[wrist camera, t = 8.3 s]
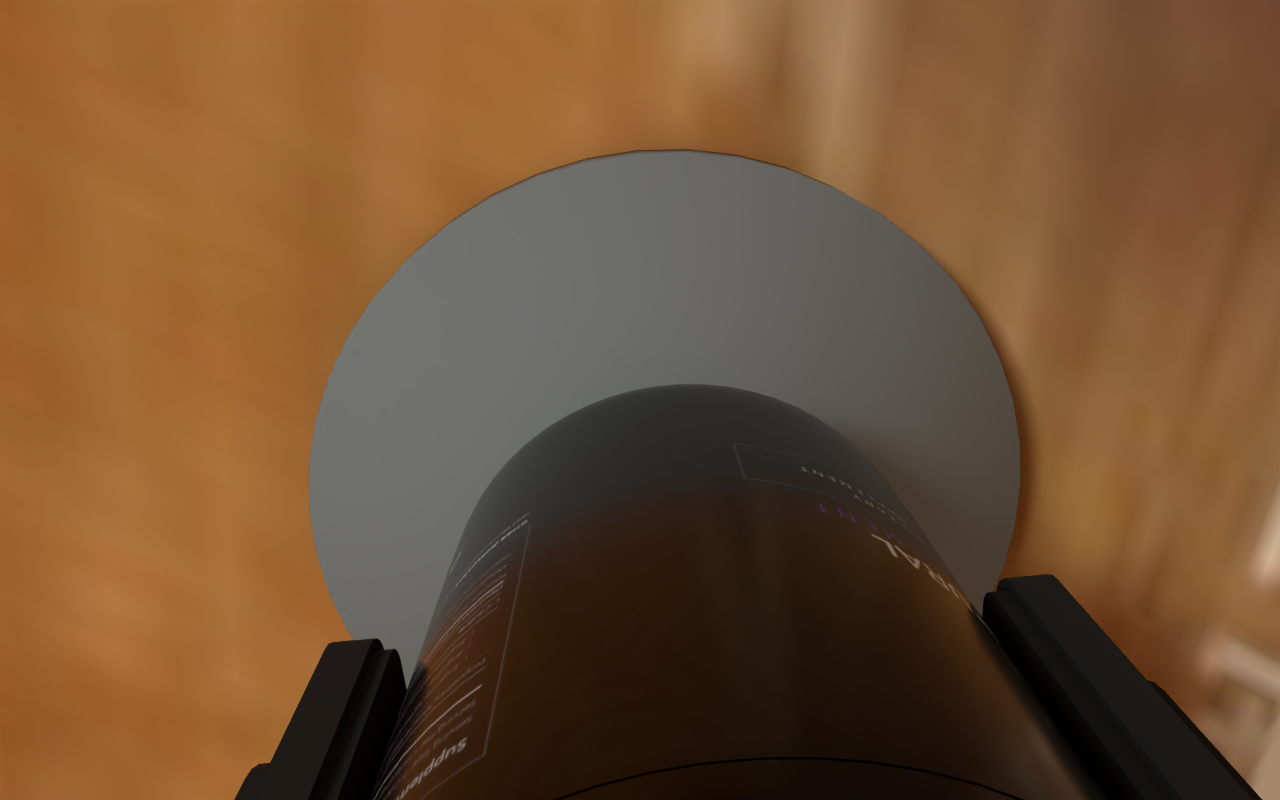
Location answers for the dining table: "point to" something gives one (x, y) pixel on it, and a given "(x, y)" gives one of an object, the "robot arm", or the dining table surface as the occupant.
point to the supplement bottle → (710, 628)
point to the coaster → (648, 360)
